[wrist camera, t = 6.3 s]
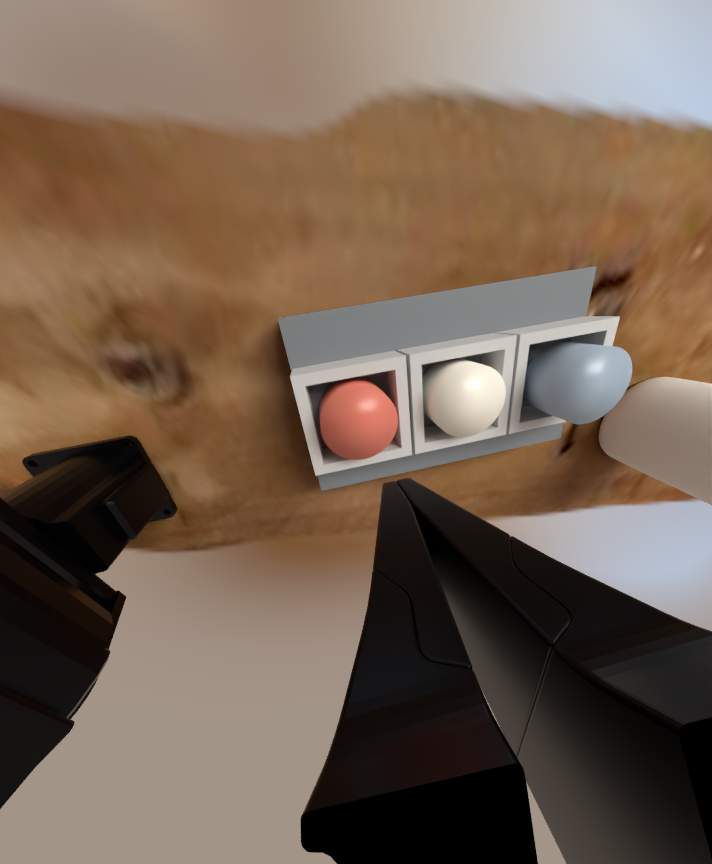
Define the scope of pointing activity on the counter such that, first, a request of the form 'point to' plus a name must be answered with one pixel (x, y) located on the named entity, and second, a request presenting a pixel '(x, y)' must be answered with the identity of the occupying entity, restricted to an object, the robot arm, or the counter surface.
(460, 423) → the button ivory
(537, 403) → the button blue
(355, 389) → the button red
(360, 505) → the counter surface
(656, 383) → the milk bottle
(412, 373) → the console
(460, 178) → the counter surface
